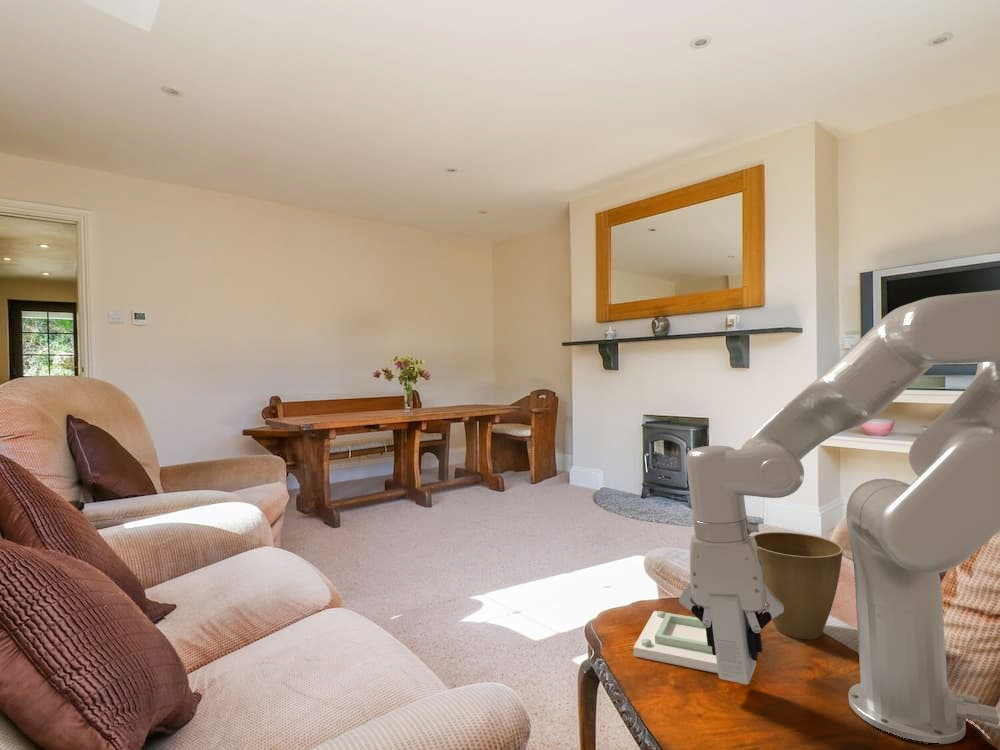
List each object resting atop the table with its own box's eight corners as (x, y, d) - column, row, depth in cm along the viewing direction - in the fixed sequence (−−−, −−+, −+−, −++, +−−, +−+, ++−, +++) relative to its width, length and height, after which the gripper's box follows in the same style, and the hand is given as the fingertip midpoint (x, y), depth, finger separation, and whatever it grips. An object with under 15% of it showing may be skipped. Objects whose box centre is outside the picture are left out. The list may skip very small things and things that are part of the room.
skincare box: (727, 660, 82) (717, 581, 83) (757, 666, 80) (747, 585, 80) (717, 679, 77) (707, 595, 78) (749, 686, 75) (738, 599, 75)
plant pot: (752, 641, 94) (747, 550, 94) (755, 608, 107) (751, 528, 107) (852, 657, 87) (847, 559, 87) (843, 620, 100) (838, 535, 100)
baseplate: (743, 633, 97) (742, 618, 97) (736, 676, 83) (735, 659, 83) (654, 618, 104) (653, 604, 104) (633, 656, 90) (633, 640, 90)
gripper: (784, 524, 79) (800, 649, 78) (667, 522, 87) (680, 635, 86) (784, 538, 72) (801, 675, 71) (657, 534, 80) (671, 657, 79)
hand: (735, 652), depth 78 cm, fingers closed on skincare box, 4 cm apart
